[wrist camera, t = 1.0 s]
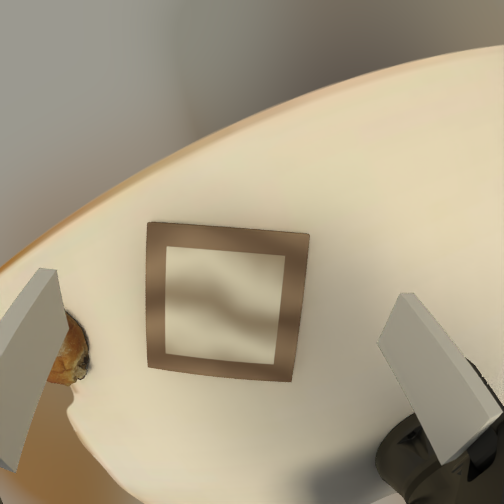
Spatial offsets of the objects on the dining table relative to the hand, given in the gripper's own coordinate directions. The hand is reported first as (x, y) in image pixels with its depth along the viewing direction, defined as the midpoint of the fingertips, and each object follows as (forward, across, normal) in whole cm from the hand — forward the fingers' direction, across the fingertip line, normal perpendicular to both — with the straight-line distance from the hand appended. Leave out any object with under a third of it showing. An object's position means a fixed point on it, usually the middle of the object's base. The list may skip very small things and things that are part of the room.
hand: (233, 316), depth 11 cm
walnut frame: (+18, -2, +13) cm, 22 cm away
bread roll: (+19, +19, +22) cm, 35 cm away
